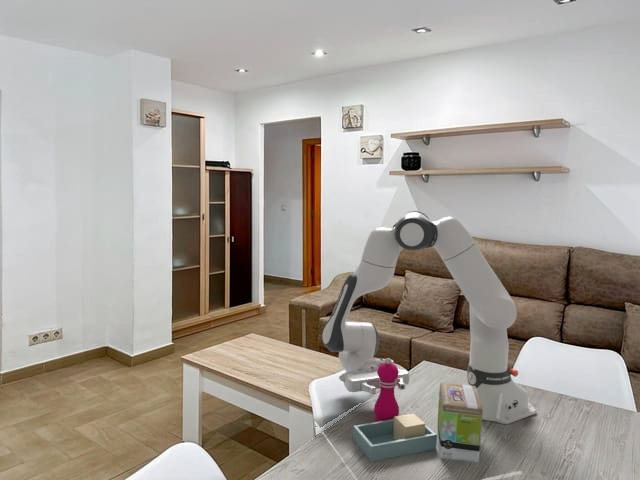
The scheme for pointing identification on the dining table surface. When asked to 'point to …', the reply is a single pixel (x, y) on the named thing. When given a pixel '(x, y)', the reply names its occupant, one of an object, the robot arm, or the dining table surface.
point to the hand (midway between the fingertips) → (388, 389)
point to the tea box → (459, 422)
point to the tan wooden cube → (408, 426)
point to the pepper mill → (386, 392)
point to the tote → (390, 441)
